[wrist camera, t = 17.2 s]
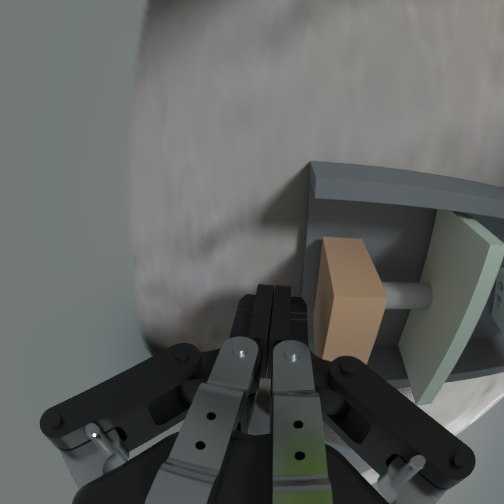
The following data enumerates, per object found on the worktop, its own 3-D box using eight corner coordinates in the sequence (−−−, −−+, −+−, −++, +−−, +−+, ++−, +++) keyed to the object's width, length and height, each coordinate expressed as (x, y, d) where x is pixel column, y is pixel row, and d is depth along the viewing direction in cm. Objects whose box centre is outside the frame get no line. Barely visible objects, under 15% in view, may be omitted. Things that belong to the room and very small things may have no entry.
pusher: (453, 203, 13) (508, 247, 8) (410, 344, 17) (431, 404, 12) (326, 190, 13) (343, 235, 9) (308, 343, 18) (309, 411, 13)
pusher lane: (576, 209, 11) (604, 228, 8) (528, 334, 17) (544, 361, 14) (310, 161, 14) (316, 177, 11) (295, 347, 19) (293, 388, 16)
